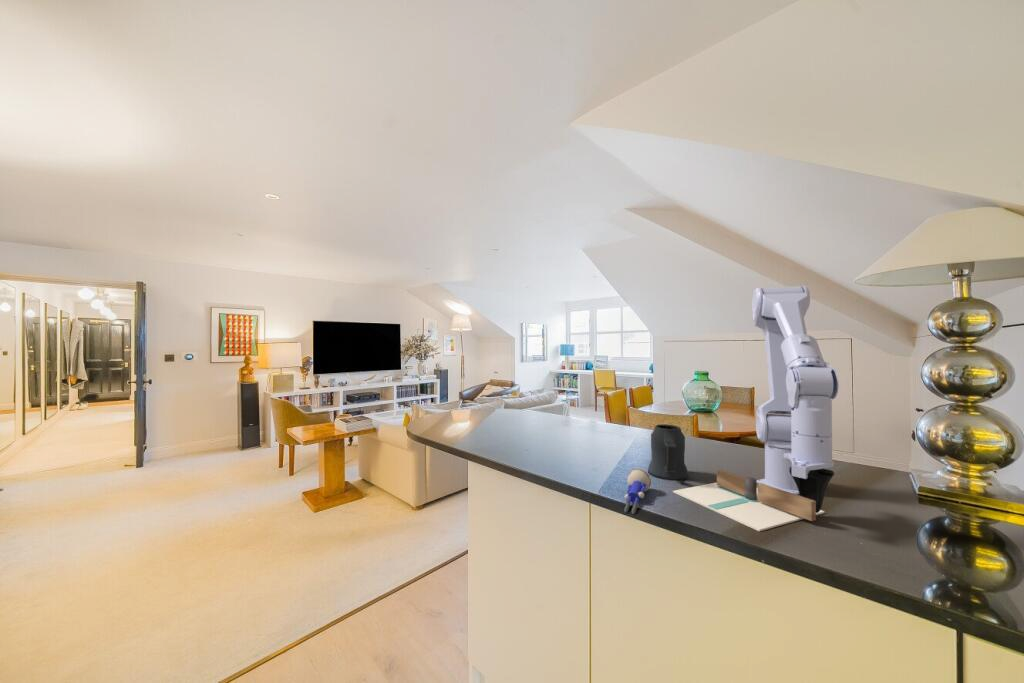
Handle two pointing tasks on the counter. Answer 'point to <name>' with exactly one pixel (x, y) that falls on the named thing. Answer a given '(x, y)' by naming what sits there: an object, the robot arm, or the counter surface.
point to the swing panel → (787, 501)
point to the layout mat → (739, 506)
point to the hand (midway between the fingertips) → (811, 510)
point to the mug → (668, 453)
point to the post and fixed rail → (738, 484)
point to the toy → (636, 488)
